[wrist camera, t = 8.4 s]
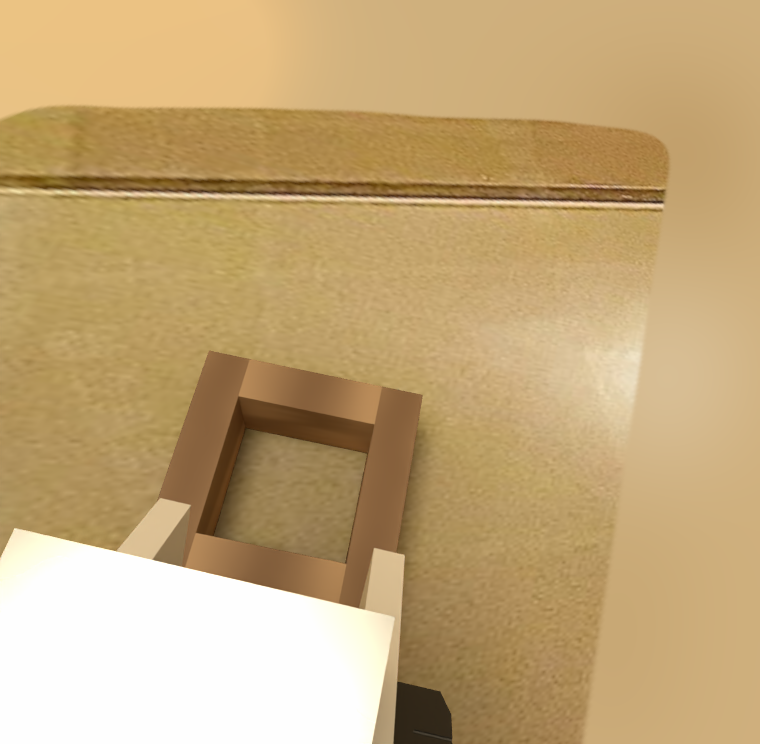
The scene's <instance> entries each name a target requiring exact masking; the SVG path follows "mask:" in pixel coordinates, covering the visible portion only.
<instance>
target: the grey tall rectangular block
mask: <svg viewBox="0 0 760 744" xmlns="http://www.w3.org/2000/svg"><path fill="white" fill-rule="evenodd" d="M394 621H395V617H393V616H389V615H384V614H380V613H376V612H372V611H367V610H363V609H359V608H354V607H350V606H346V605H342V604H337V603H333V602H329V601H325V600H320V599H316V598H312V597H307V596H303V595H299V594H295V593H290V592H286V591H282V590H277V589H273V588H269V587H265V586H260V585H256V584H252V583H248V582H243V581H239V580H235V579H230V578H226V577H222V576H218V575H213V574H209V573H205V572H200V571H196V570H192V569H188V568H183V567H179V566H175V565H171V564H166V563H162V562H158V561H153V560H149V559H145V558H141V557H136V556H132V555H128V554H123V553H119V552H115V551H111V550H106V549H102V548H98V547H94V546H89V545H85V544H81V543H76V542H72V541H68V540H64V539H59V538H55V537H51V536H46V535H42V534H38V533H34V532H29V531H25V530H21V529H17V528H15V529H14V531H13V533H12V535H11V537H10V540H9V542H8V544H7V546H6V548H5V550H4V552H3V554H2V556H1V559H0V744H372V740H373V734H374V729H375V724H376V718H377V713H378V707H379V702H380V697H381V691H382V686H383V680H384V675H385V669H386V664H387V659H388V653H389V648H390V642H391V637H392V631H393V626H394Z"/></svg>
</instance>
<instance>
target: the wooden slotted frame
mask: <svg viewBox="0 0 760 744" xmlns="http://www.w3.org/2000/svg"><path fill="white" fill-rule="evenodd" d="M422 396H423V395H420V394H415V393H410V392H405V391H400V390H396V389H391V388H386V387H381V386H376V385H372V384H367V383H362V382H357V381H352V380H348V379H343V378H338V377H333V376H328V375H323V374H319V373H314V372H309V371H304V370H299V369H295V368H290V367H285V366H280V365H275V364H271V363H266V362H261V361H256V360H251V359H247V358H242V357H237V356H232V355H227V354H222V353H218V352H213V351H209V352H208V355H207V358H206V361H205V364H204V367H203V370H202V372H201V375H200V378H199V381H198V384H197V387H196V390H195V393H194V396H193V399H192V401H191V404H190V407H189V410H188V413H187V416H186V419H185V422H184V425H183V427H182V430H181V433H180V436H179V439H178V442H177V445H176V448H175V451H174V453H173V456H172V459H171V462H170V465H169V468H168V471H167V474H166V477H165V479H164V482H163V485H162V488H161V491H160V494H159V497H158V500H159V499H160V498H163V499H167V500H171V501H175V502H180V503H184V504H188V505H191V509H190V515H189V522H188V528H187V535H186V542H185V548H184V555H183V561H182V567H183V568H188V569H192V570H196V571H200V572H205V573H209V574H213V575H218V576H222V577H226V578H230V579H235V580H239V581H243V582H248V583H252V584H256V585H260V586H265V587H269V588H273V589H277V590H282V591H286V592H290V593H295V594H299V595H303V596H307V597H312V598H316V599H320V600H325V601H329V602H333V603H337V604H342V605H346V606H350V607H354V608H359V606H360V602H361V598H362V594H363V590H364V586H365V582H366V578H367V574H368V570H369V566H370V562H371V558H372V554H373V550H374V548H377V549H381V550H385V551H389V552H394V553H396V552H397V546H398V540H399V534H400V528H401V522H402V516H403V510H404V504H405V498H406V492H407V486H408V480H409V474H410V468H411V462H412V456H413V450H414V444H415V438H416V432H417V426H418V420H419V414H420V408H421V402H422ZM245 428H249V429H254V430H258V431H263V432H268V433H273V434H278V435H283V436H287V437H292V438H297V439H302V440H307V441H311V442H316V443H321V444H326V445H331V446H336V447H340V448H345V449H350V450H355V451H360V452H365V453H367V458H366V463H365V468H364V473H363V478H362V483H361V488H360V493H359V498H358V503H357V508H356V513H355V518H354V523H353V528H352V533H351V538H350V543H349V548H348V553H347V557H346V562H345V563H340V562H335V561H330V560H325V559H320V558H315V557H311V556H306V555H301V554H296V553H291V552H286V551H281V550H277V549H272V548H267V547H262V546H257V545H252V544H247V543H243V542H238V541H233V540H228V539H223V538H218V537H213V535H214V532H215V528H216V525H217V521H218V518H219V515H220V511H221V508H222V505H223V501H224V498H225V495H226V491H227V488H228V485H229V481H230V478H231V474H232V471H233V468H234V464H235V461H236V458H237V454H238V451H239V448H240V444H241V441H242V438H243V434H244V431H245ZM158 500H157V501H158Z"/></svg>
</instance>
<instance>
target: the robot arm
mask: <svg viewBox="0 0 760 744" xmlns="http://www.w3.org/2000/svg"><path fill="white" fill-rule="evenodd" d="M190 509H191V505H188V504H184V503H180V502H175V501H171V500H167V499H163V498H160V499H159V500H158V501H157V503H156V504H155V505H154V506H153V507H152V509H151V510H150V511H149V512H148V513H147V515H146V516H145V517H144V518H143V520H142V521H141V522H140V523H139V524H138V526H137V527H136V528H135V529H134V530H133V532H132V533H131V534H130V535H129V537H128V538H127V539H126V540H125V541H124V543H123V544H122V545H121V546H120V547H119V549H118V550H117V551H116V552H119V553H123V554H128V555H132V556H136V557H141V558H145V559H149V560H153V561H158V562H162V563H166V564H171V565H175V566H179V567H182V561H183V555H184V548H185V542H186V535H187V528H188V522H189V515H190ZM404 560H405V555H402V554H398V553H394V552H389V551H385V550H381V549H377V548H374V550H373V554H372V558H371V562H370V566H369V570H368V574H367V578H366V582H365V586H364V590H363V594H362V598H361V602H360V606H359V609H363V610H367V611H372V612H376V613H380V614H384V615H389V616H393V617H395V621H394V626H393V631H392V637H391V642H390V648H389V653H388V659H387V664H386V669H385V675H384V680H383V686H382V691H381V697H380V702H379V707H378V713H377V718H376V724H375V729H374V734H373V740H372V744H452V723H451V713H450V711H449V709H448V707H447V705H446V703H445V701H444V699H443V697H442V695H441V692H439V691H435V690H431V689H427V688H422V687H418V686H414V685H410V684H405V683H401V682H397V675H398V659H399V642H400V626H401V610H402V593H403V577H404Z"/></svg>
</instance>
